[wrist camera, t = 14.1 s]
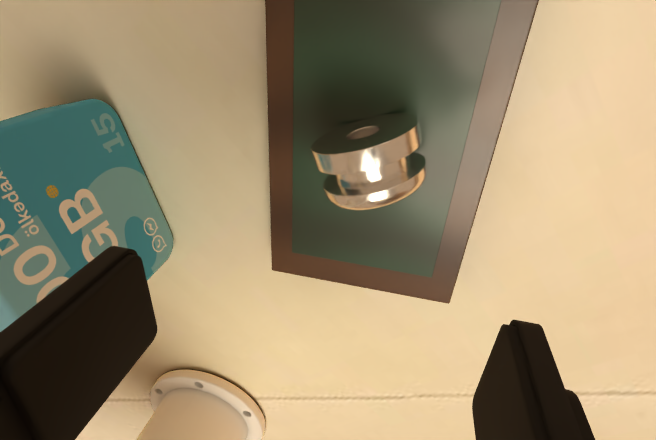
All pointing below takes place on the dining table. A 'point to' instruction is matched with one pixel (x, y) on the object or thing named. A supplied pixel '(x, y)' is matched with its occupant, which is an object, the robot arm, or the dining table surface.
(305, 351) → the dining table surface
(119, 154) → the data package
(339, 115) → the desk pad
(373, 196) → the metal grooved wheel
